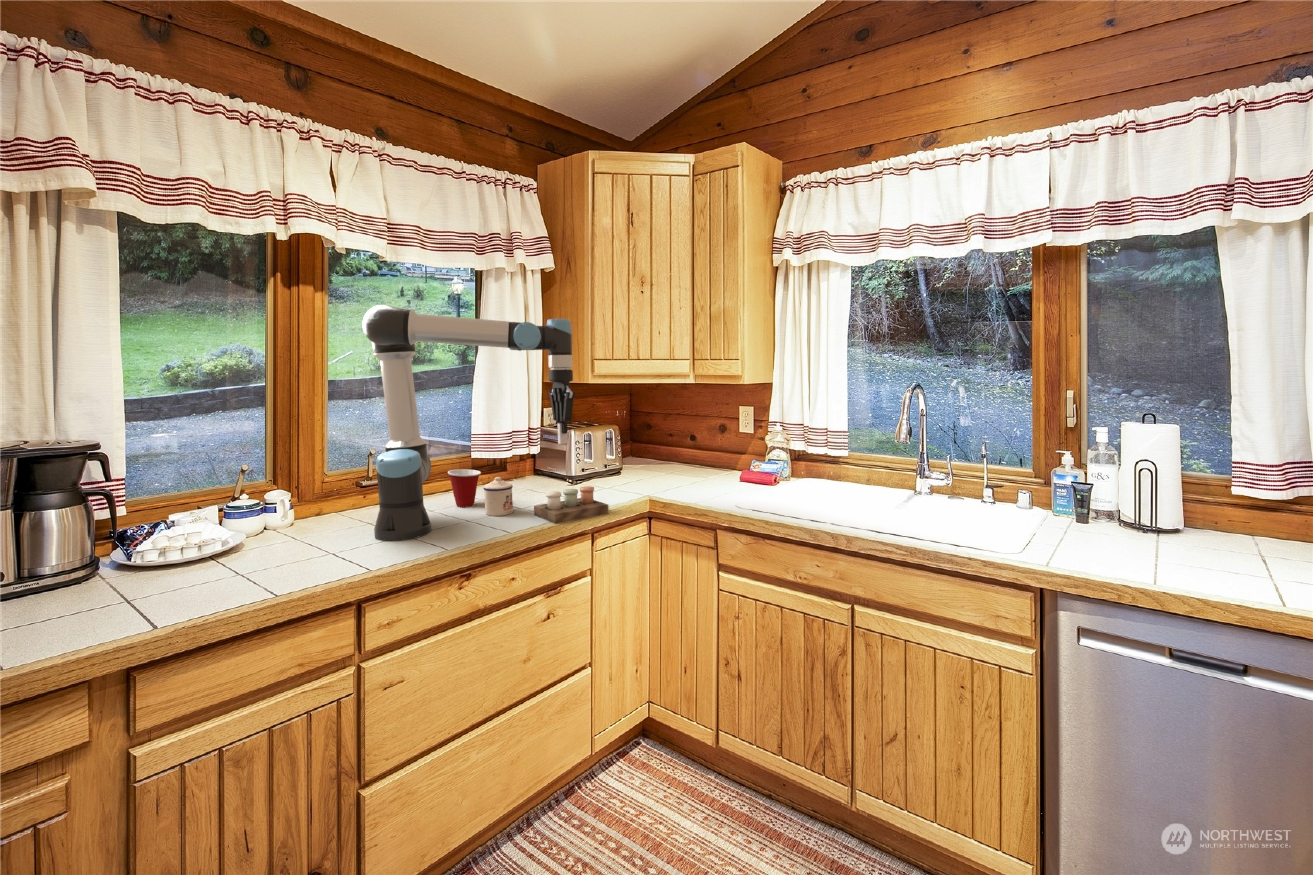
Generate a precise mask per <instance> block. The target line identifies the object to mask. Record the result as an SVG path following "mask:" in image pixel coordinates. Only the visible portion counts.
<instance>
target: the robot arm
mask: <svg viewBox="0 0 1313 875" xmlns="http://www.w3.org/2000/svg"><path fill="white" fill-rule="evenodd" d="M362 329H363V333H364V335H365V336H366V338H367V339H368V340H369V341H370V342H371V346H372V354H373V356H374V357H376V358H377V359H378V360H379V362H380V363H379V366H380V373H381V380H382V387H383V389H382V390H383V398H384V405H385V411H386V412H385V413H386V419H387V427H388V437H389V440H388V442H387V443H386V445H385V446H384V449H385V451H384V452H382V453H380V454H379V455H378V456H377V457H376V464H375V469H376V477H377V480H376V481H377V491H378V492H377V493H378V503H379V504H378V505H379V509H378V513H377V517H376V522H375V524H374V530H373V531H374V532H373V534H374V538H376V539H378V540H382V541H404V540H409V539H416V538H420V537H423V536H427V535H428V534H430V533H431V532H432V530H433V529H432V522H431V519H430V517H429V515H428V514H429V513H428V512H427V510H426V508H425V502H424V491H423V490H424V488H423V484H424V482H425V481H426V480H427V479H428V478H429V476H430V475H431V471H432V461H431V459H430V456H429V453H428V448H427V447H428V446H427V441H426V440H424V439H423V438H422V437H421V433H420V425H419V416H418V408H417V402H416V401H417V399H416V390H415V383H414V374H413V366H412V358H413V356H414V355H415V354H416V345H415V344H416V342H419V343H421V342H422V343H434V344H448V345H461V346H462V345H463V346H477V347H479V346H480V347H491V348H504V349H506V348H507V349H509V350H510V351H520V352H521V351H547V363H548V364H547V365H548V368H549V370H548V382H550V383H552V386H551V387H552V390H548V395H549V399H550V405H551V406H550V407H551V412H552V419H553V421H555V422H556V424H557V444H558V445H566V444H569V440H568V438H569V436H568V434H569V433H568V423H569V422H572V420H573V419H572V418H573V417H572V416H573V407H574V406H573V405H574V398H575V395H576V393H575V391H572V390H571V385H570V383H571V382H573V380H574V371H573V370H572V368H573V360H574V359H573V341H572V340H573V333H572V323H571V321H570V319H567V318H549V319H547V321H546V325H536V324H535V323H532V322H529V321H524V322H516V321H507V320H493V319H483V318H482V319H481V318H471V317H458V316H447V315H446V316H445V315H434V314H424V313H422V314H421V313H417V312H415V310H414V309H409V308H408V309H407V308H400V307H395V306H392V305H387V304H379V305H375V306H373V307H371V308H369V309H368V310H367V311H366V313H365V315H364V316H363V319H362Z"/></svg>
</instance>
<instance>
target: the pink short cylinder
mask: <svg viewBox="0 0 1313 875" xmlns="http://www.w3.org/2000/svg"><path fill="white" fill-rule="evenodd" d="M579 492H580V498H581V504H584V505H587V504H593V503H594V500H595V499H594V492H595V487H594V486H588V485H587V486H581V487H579Z"/></svg>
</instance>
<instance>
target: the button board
mask: <svg viewBox="0 0 1313 875" xmlns="http://www.w3.org/2000/svg"><path fill="white" fill-rule="evenodd" d="M593 500H594V503H593V504H587V505H584V504H581V497H579V498H578V497H577V506H575V507H570V508H567V507H565V500H560V502H561V509H558V510H553V511H550V510H548V503H544V504H536V505H533V515H534V516H535V517H538V518H541V519H542V520H545V521H548V522H550V523H553V524H554V525H555V524H556V525H557V524H561V523H567V522H573V521H578V520H582V519H588V518H594V517H598V516H603V515H609V504H608V503H604V502H601V501H598V500H596V499H593Z"/></svg>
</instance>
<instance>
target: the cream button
mask: <svg viewBox="0 0 1313 875" xmlns="http://www.w3.org/2000/svg"><path fill="white" fill-rule="evenodd" d="M545 495H546V496H545V497H546V499H547V500H546V502H547V503H546V504H548V510H550V511H553V510H558V509H561V502H560V501H561V497H562V492H561V491H555V490H554V491H547V492H546V493H545Z"/></svg>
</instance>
